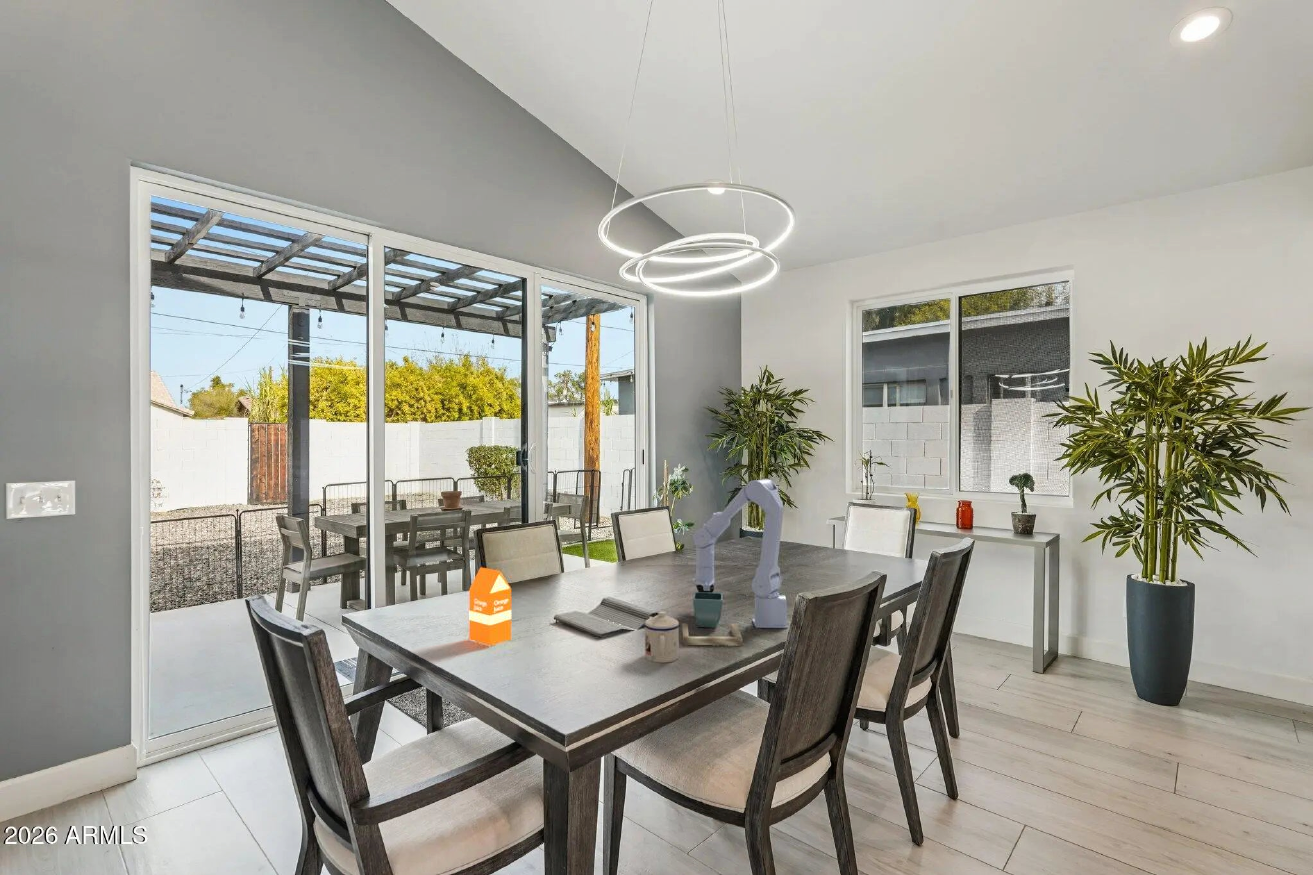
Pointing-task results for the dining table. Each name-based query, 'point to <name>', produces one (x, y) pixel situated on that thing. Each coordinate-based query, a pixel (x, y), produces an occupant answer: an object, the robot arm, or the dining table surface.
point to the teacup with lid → (661, 638)
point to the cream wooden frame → (713, 638)
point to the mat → (608, 617)
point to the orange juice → (489, 608)
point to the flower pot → (707, 608)
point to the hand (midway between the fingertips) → (705, 607)
